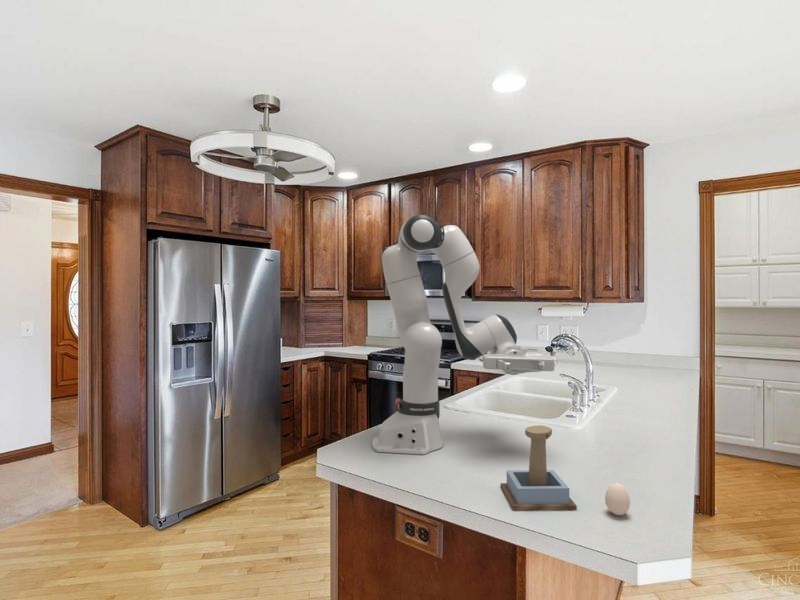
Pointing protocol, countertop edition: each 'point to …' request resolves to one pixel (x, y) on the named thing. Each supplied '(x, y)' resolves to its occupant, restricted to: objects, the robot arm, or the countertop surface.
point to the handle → (538, 454)
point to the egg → (617, 499)
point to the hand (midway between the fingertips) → (524, 366)
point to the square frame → (537, 488)
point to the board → (534, 506)
